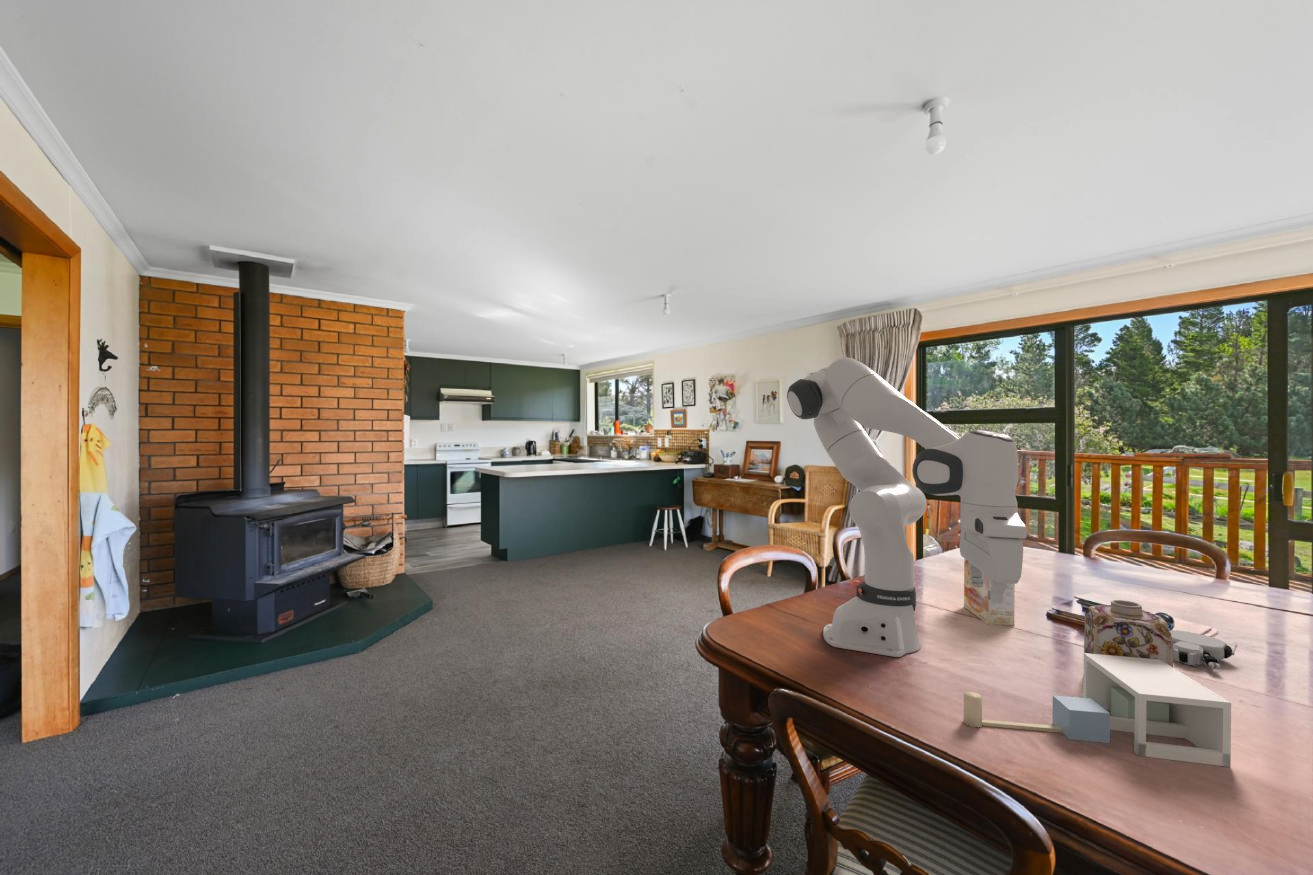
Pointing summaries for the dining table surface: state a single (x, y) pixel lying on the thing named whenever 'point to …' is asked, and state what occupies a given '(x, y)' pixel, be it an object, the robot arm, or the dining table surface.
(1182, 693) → the shelf
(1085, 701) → the corded block
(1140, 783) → the dining table surface
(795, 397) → the robot arm
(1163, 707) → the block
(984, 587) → the coffeecake box
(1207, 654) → the robot toy
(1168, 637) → the decorative jar
